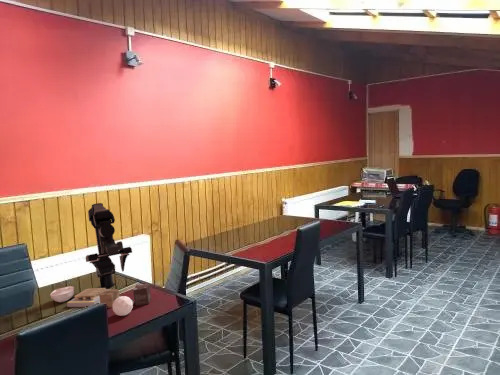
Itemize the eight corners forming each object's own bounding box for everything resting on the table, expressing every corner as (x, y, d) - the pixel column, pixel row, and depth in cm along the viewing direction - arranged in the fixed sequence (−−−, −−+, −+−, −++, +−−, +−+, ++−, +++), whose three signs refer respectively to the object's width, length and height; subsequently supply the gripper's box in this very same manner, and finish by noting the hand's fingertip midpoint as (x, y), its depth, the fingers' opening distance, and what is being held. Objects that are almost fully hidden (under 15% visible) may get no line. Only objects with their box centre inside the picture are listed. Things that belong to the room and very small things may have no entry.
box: (151, 299, 185) (149, 283, 184) (148, 304, 179) (146, 288, 178) (138, 300, 185) (136, 285, 184) (134, 306, 179) (132, 289, 178)
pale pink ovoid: (105, 310, 167) (120, 302, 179) (120, 322, 165) (135, 313, 177) (114, 294, 166) (128, 287, 178) (130, 306, 165) (143, 298, 176)
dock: (88, 293, 202) (88, 289, 202) (114, 293, 199) (113, 289, 199) (67, 307, 187) (66, 302, 187) (94, 306, 183) (93, 302, 183)
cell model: (81, 295, 201) (79, 282, 200) (65, 305, 189) (62, 291, 189) (63, 296, 203) (61, 282, 203) (46, 305, 192) (43, 291, 191)
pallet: (88, 292, 199) (87, 288, 198) (106, 291, 196) (105, 287, 196) (74, 300, 189) (74, 296, 189) (93, 299, 187) (93, 295, 186)
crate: (108, 302, 187) (106, 289, 187) (120, 302, 186) (118, 289, 185) (101, 307, 182) (99, 294, 181) (113, 307, 180) (111, 294, 179)
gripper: (88, 241, 169) (95, 278, 167) (133, 233, 179) (139, 268, 178) (82, 243, 178) (88, 279, 176) (125, 235, 188) (131, 269, 187)
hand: (112, 273), depth 179 cm, fingers open, 9 cm apart
